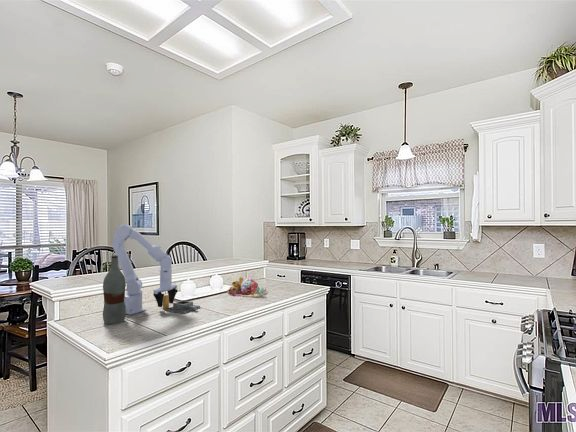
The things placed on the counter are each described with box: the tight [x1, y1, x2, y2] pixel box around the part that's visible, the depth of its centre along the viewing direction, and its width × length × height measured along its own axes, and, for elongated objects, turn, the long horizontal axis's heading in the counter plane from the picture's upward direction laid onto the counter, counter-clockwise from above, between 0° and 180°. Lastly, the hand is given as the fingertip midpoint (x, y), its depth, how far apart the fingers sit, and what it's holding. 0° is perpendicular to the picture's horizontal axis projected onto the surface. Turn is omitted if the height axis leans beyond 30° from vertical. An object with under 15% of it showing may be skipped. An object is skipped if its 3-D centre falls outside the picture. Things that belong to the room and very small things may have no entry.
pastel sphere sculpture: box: [227, 276, 268, 298], centre depth 210 cm, size 25×24×9 cm
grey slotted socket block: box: [165, 300, 201, 315], centre depth 170 cm, size 12×14×4 cm
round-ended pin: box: [162, 294, 170, 311], centre depth 171 cm, size 3×3×7 cm
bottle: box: [102, 255, 127, 326], centre depth 150 cm, size 9×9×30 cm
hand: (165, 305), depth 171 cm, fingers open, 7 cm apart
